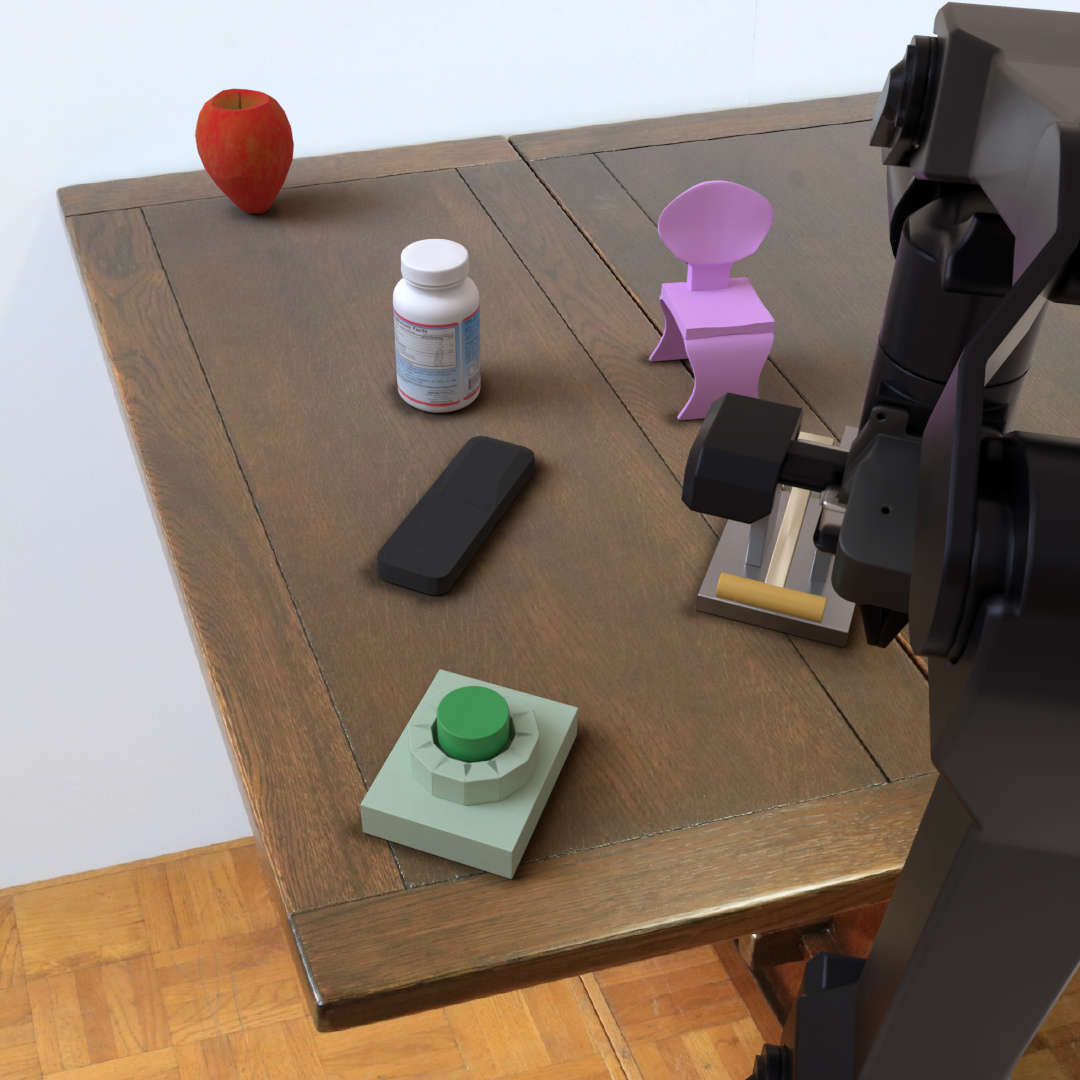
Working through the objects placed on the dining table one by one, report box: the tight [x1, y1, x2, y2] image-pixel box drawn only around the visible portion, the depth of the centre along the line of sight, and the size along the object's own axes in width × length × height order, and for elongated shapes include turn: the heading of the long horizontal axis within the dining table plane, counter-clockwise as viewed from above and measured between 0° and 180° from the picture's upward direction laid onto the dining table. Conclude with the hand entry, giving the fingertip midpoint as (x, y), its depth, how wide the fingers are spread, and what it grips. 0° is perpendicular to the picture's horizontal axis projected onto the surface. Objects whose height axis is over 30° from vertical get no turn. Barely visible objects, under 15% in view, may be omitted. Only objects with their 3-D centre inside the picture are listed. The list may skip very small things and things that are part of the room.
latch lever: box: [716, 430, 835, 623], centre depth 76 cm, size 11×6×2 cm, turn 160°
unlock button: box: [437, 686, 509, 762], centre depth 66 cm, size 4×4×2 cm
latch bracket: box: [695, 425, 859, 648], centre depth 80 cm, size 12×9×10 cm
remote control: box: [375, 435, 537, 596], centre depth 85 cm, size 5×2×15 cm
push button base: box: [360, 668, 579, 880], centre depth 68 cm, size 10×8×4 cm
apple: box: [194, 88, 295, 215], centre depth 115 cm, size 9×8×11 cm
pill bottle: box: [392, 238, 482, 414], centre depth 93 cm, size 6×6×11 cm
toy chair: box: [648, 179, 776, 421], centre depth 94 cm, size 8×9×15 cm
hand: (877, 640), depth 61 cm, fingers closed
